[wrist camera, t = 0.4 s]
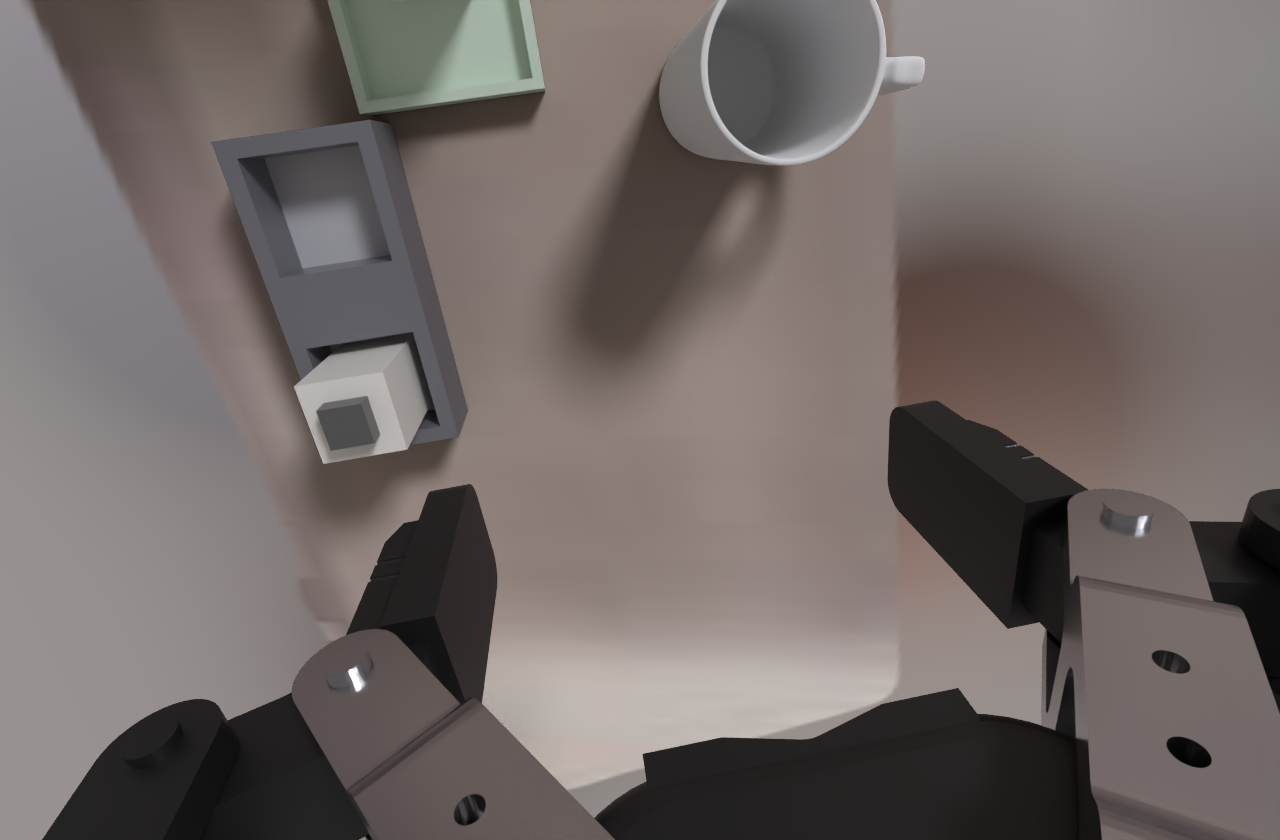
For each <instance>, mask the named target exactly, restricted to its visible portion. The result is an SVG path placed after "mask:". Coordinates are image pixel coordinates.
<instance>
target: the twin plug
mask: <svg viewBox="0 0 1280 840" xmlns="http://www.w3.org/2000/svg"><path fill="white" fill-rule="evenodd" d="M294 388H295V391H296V394H297V396H298V399H299V401H300V404H301V407H302V409H303V412H304V415H305V417H306V420H307V422H308V425H309V428H310V430H311V433H312V435H313V438H314V441H315V443H316V446H317V448H318V451H319V454H320V456H321V459H322V462H323V464H326V463H332V462H338V461H344V460H350V459H355V458H361V457H367V456H373V455H379V454H385V453H390V452H396V451H402V450H407V449H408V447H409V445H410V443H411V441H412V440H413V438H414V436H415V434H416V432H417V430H418V428H419V426H420V424H421V422H422V420H423V418H424V416H425V414H426V412H427V410H428V408H429V406H430V404H431V402H432V396H431V393H430V389H429V386H428V383H427V379H426V376H425V372H424V369H423V365H422V362H421V358H420V355H419V351H418V348H417V345H416V341H415V338H414V334H413V333H408V334H402V335H396V336H390V337H383V338H377V339H371V340H365V341H359V342H352V343H346V344H342V345H341V346H340V347H339V348H337V349H336V350H335V351H334V352H333V353H332V354H331V355H329V356H328V357H327V358H326V359H325V360H324V361H323V362H321V363H320V364H319V365H318V366H317V367H316V368H314V369H313V370H312V371H311V372H310V373H309V374H308V375H306V376H305V377H304V378H303V379H302V380H301V381H300V382H298V383H297V384H296V385H295V386H294Z"/></svg>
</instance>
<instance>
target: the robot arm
mask: <svg viewBox="0 0 1280 840" xmlns="http://www.w3.org/2000/svg"><path fill="white" fill-rule="evenodd" d="M888 487H889V491H890V495H891V498H892V500H893V503H894V505H895V506H896V508H897V509H898V511H899V512H900V513H901V514H902V515H903V516H904V517H905V518H906V519H907V520H908V522H909V523H910V524H911V525H912V526H913V527H914V528H915V529H916V530H917V531H918V532H919V533H920V535H922V537H923V538H924V539H925V540H926V541H927V542H928V543H929V544H930V545H931V546H932V547H933V549H935V551H936V552H937V553H938V554H939V555H940V556H941V557H942V558H943V559H944V560H945V561H946V563H947V564H948V565H949V566H950V567H951V568H952V569H953V570H954V571H955V572H956V573H957V574H958V576H959V577H960V578H961V579H962V580H963V581H964V582H965V583H966V584H967V585H968V586H969V587H970V588H971V590H973V592H974V593H975V594H976V595H977V596H978V597H979V598H980V599H981V600H982V601H983V603H984V604H985V605H986V606H987V607H988V608H989V609H990V610H991V611H992V612H993V613H994V614H995V615H996V616H997V618H998V619H999V620H1000V621H1001V622H1002V623H1003V624H1004V625H1005V626H1006V627H1007V628H1008V629H1009V628H1013V627H1018V626H1023V625H1028V624H1033V623H1037V622H1040V623H1041V624H1042V625H1043V626H1044V627H1045V628H1046V629H1045V635H1044V641H1043V646H1042V705H1041V706H1042V707H1041V725H1038V724H1034V723H1031V722H1027V721H1023V720H1018V719H1014V718H1010V717H1003V716H995V715H988V714H977V713H976V712H975V710H974V709H973V708H972V706H971V705H970V704H969V702H968V701H967V700H966V698H965V697H964V695H963V694H962V693H961V691H960V690H959V689H958V688H956V689H952V690H947V691H943V692H937V693H933V694H928V695H923V696H918V697H913V698H909V699H904V700H899V701H894V702H889V703H885V704H881V705H879V706H877V707H875V708H873V709H871V710H869V711H867V712H865V713H863V714H861V715H860V716H857V717H856V718H854V719H852V720H850V721H848V722H846V723H844V724H842V725H840V726H838V727H836V728H834V729H832V730H830V731H828V732H826V733H824V734H822V735H820V736H817V737H815V738H812V739H805V740H795V739H793V740H792V739H758V738H717V739H712V740H708V741H703V742H698V743H693V744H689V745H684V746H679V747H674V748H669V749H665V750H660V751H655V752H650V753H645V754H643V759H644V766H645V773H646V780H647V781H646V782H644V783H643V784H640V785H638V786H637V787H635V788H633V789H631V790H629V791H628V792H626V793H625V794H623V795H622V796H620V797H619V798H617V799H616V800H614V801H613V802H612V803H611V804H610V805H608V806H607V807H606V808H605V809H604V810H602V811H601V812H600V813H599V814H598V815H597V816H596V817H595V818H593V817H592V816H591V815H590V814H589V813H588V812H587V810H586V809H584V807H582V805H581V804H580V803H579V802H578V801H577V800H576V799H575V798H574V797H573V796H572V795H571V794H570V793H569V792H568V791H567V790H566V789H565V788H564V787H563V786H562V785H561V784H560V783H559V782H558V781H557V780H556V779H555V778H554V777H553V776H552V775H551V774H550V773H549V772H548V771H547V770H546V769H545V768H544V767H543V766H542V765H541V764H540V762H539V761H538V760H537V759H536V758H535V757H534V756H533V755H532V754H531V753H530V752H529V751H528V750H527V749H526V748H525V747H524V746H523V745H522V744H521V743H520V742H519V741H518V740H517V739H516V738H515V737H514V736H513V735H512V734H511V733H510V732H509V731H508V730H507V729H506V728H505V727H504V726H503V725H502V724H501V723H500V722H499V721H498V720H497V719H496V718H495V717H494V716H493V714H492V713H491V712H490V711H489V710H488V709H487V708H486V707H485V706H484V705H483V704H482V697H483V690H484V682H485V675H486V667H487V659H488V652H489V644H490V636H491V629H492V621H493V613H494V606H495V598H496V590H497V569H496V562H495V557H494V552H493V549H492V545H491V542H490V539H489V535H488V532H487V528H486V525H485V522H484V518H483V515H482V511H481V508H480V504H479V501H478V498H477V495H476V492H475V490H474V488H473V486H472V485H471V484H468V485H462V486H457V487H451V488H446V489H441V490H435V491H430V492H429V493H428V496H427V498H426V501H425V504H424V507H423V510H422V512H421V515H420V518H419V520H418V521H413V522H407V523H404V524H403V525H402V526H401V527H400V528H399V529H398V530H397V531H396V532H395V533H394V534H393V535H392V536H391V537H390V538H389V539H388V540H387V541H386V542H385V544H384V547H383V549H382V551H381V554H380V556H379V558H378V561H377V564H378V565H376V566H375V568H374V570H373V573H372V575H371V577H370V579H371V582H368V584H367V587H366V589H365V591H364V594H363V596H362V599H361V601H360V603H359V606H358V608H357V610H356V613H355V615H354V617H353V620H352V622H351V625H350V627H349V629H348V632H347V634H346V636H344V637H341V638H339V639H337V640H335V641H333V642H332V643H330V644H328V645H327V646H325V647H324V648H322V649H321V650H320V651H318V652H317V653H316V654H314V655H313V656H312V657H311V658H310V659H309V660H308V661H307V662H306V663H305V665H304V666H303V667H302V668H301V669H300V671H299V673H298V674H297V676H296V678H295V680H294V682H293V686H292V693H290V694H288V695H286V696H284V697H282V698H280V699H277V700H275V701H273V702H270V703H268V704H265V705H263V706H261V707H258V708H256V709H254V710H251V711H249V712H247V713H244V714H242V715H240V716H237V717H235V718H233V719H230V720H228V721H227V719H226V718H225V716H224V714H223V713H222V711H221V709H220V708H219V706H218V705H216V703H214V702H212V701H209V700H204V699H193V700H188V701H183V702H179V703H176V704H173V705H170V706H168V707H165V708H163V709H161V710H159V711H157V712H154V713H152V714H151V715H149V716H147V717H145V718H144V719H142V720H140V721H139V722H137V723H136V724H134V725H133V726H131V727H130V728H129V729H127V730H126V731H125V732H124V733H122V734H121V735H120V736H119V737H118V738H116V739H115V740H114V741H113V742H112V743H111V744H110V745H109V746H108V747H107V748H106V749H105V750H104V752H103V753H102V754H101V755H100V756H99V758H98V759H97V760H96V761H95V763H94V764H93V766H92V767H91V769H90V770H89V771H88V773H87V774H86V776H85V777H84V779H83V780H82V782H81V783H80V785H79V786H78V788H77V789H76V791H75V792H74V794H73V795H72V797H71V798H70V799H69V801H68V802H67V804H66V805H65V807H64V808H63V810H62V811H61V813H60V814H59V816H58V817H57V818H56V820H55V822H54V823H53V825H52V826H51V828H50V829H49V830H48V832H47V834H46V835H45V836H44V838H43V839H42V840H359V839H361V838H363V837H365V838H366V840H1280V489H1273V490H1266V491H1262V492H1259V493H1257V494H1255V495H1253V496H1252V497H1251V498H1250V500H1249V503H1248V506H1247V509H1246V512H1245V515H1244V518H1243V521H1242V522H1198V521H1188V519H1187V518H1186V517H1185V515H1184V514H1183V513H1181V512H1180V511H1179V510H1178V509H1176V508H1175V507H1173V506H1172V505H1170V504H1168V503H1165V502H1164V501H1162V500H1159V499H1156V498H1154V497H1151V496H1148V495H1144V494H1141V493H1137V492H1133V491H1127V490H1120V489H1092V490H1088V489H1086V488H1085V487H1083V486H1082V485H1080V484H1079V483H1077V482H1076V481H1074V480H1073V479H1071V478H1070V477H1068V476H1067V475H1065V474H1064V473H1062V472H1061V471H1059V470H1057V469H1056V468H1054V467H1053V466H1051V465H1050V464H1048V463H1047V462H1045V461H1044V460H1042V459H1041V458H1039V457H1034V454H1033V453H1031V452H1030V451H1028V450H1027V449H1025V448H1024V447H1022V446H1017V443H1016V442H1015V441H1013V440H1011V439H1010V438H1009V437H1007V436H1006V435H1004V434H1002V433H1001V432H1000V431H998V430H996V429H993V428H990V427H988V426H985V425H982V424H979V423H976V422H973V421H970V420H965V419H964V418H962V417H961V416H959V415H958V414H956V413H955V412H953V411H952V410H950V409H949V408H948V407H946V406H944V405H943V404H942V403H940V402H938V401H928V402H923V403H917V404H912V405H906V406H901V407H896V408H895V409H894V410H893V411H892V413H891V416H890V426H889V455H888Z"/></svg>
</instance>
